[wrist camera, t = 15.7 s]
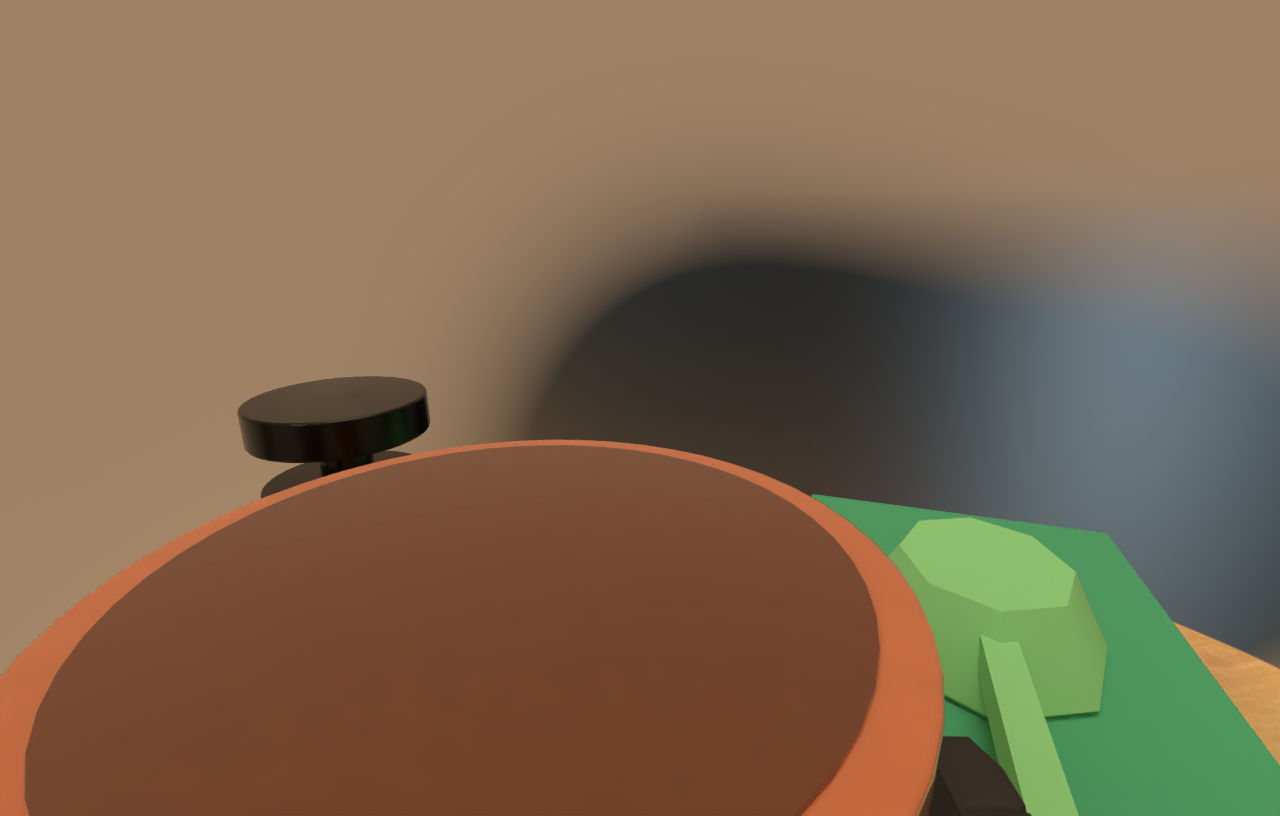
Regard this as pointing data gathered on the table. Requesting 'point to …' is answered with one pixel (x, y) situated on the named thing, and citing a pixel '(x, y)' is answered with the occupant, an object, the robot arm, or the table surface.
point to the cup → (490, 653)
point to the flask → (332, 425)
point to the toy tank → (1071, 669)
